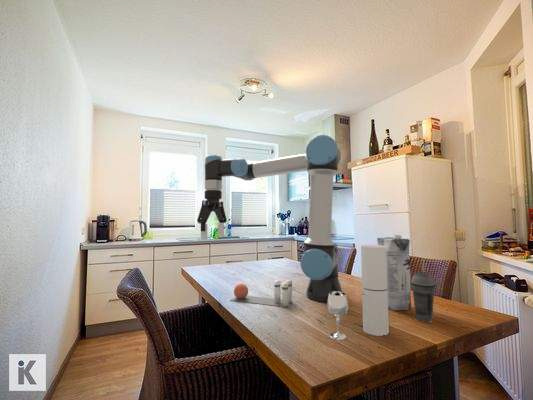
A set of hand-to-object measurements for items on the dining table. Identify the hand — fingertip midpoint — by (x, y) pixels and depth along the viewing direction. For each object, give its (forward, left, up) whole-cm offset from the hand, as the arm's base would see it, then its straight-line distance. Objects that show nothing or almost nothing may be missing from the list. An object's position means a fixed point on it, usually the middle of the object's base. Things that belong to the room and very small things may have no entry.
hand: (212, 238), depth 123 cm
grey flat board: (-23, +1, -25) cm, 34 cm away
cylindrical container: (-66, +16, -25) cm, 73 cm away
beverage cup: (-81, +1, -25) cm, 85 cm away
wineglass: (-56, +24, -25) cm, 66 cm away
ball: (-14, +1, -22) cm, 26 cm away
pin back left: (-34, +4, -25) cm, 43 cm away
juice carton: (-73, -10, -25) cm, 78 cm away
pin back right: (-34, -1, -25) cm, 42 cm away
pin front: (-30, +1, -25) cm, 39 cm away
